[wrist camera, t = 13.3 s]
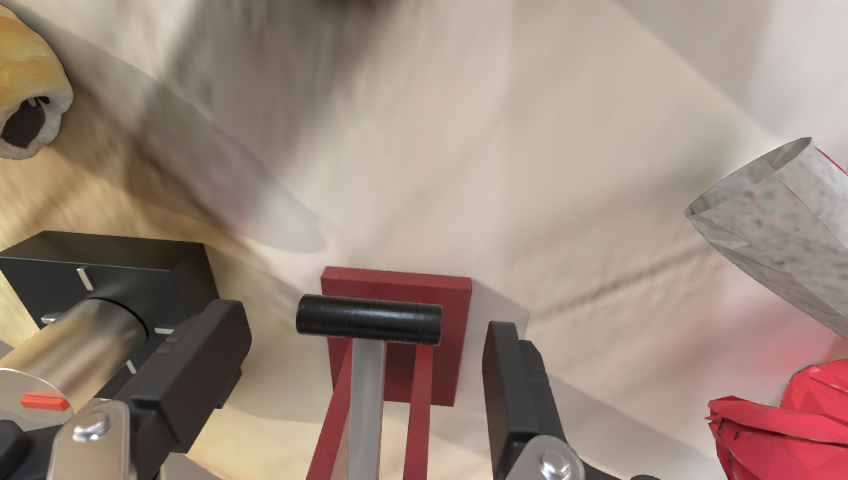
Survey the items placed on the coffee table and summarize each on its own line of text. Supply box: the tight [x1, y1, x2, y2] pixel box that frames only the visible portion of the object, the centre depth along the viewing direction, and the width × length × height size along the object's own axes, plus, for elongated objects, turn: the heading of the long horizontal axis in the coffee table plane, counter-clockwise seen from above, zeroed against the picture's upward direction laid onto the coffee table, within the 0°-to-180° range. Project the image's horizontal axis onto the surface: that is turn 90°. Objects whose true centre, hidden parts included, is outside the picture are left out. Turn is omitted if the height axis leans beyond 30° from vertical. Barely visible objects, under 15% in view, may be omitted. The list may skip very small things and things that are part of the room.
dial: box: [0, 299, 146, 425], centre depth 19 cm, size 4×4×5 cm
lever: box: [296, 294, 443, 480], centre depth 14 cm, size 12×5×2 cm, turn 177°
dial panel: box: [0, 231, 242, 409], centre depth 24 cm, size 12×10×3 cm
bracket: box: [306, 266, 472, 480], centre depth 19 cm, size 11×9×14 cm
